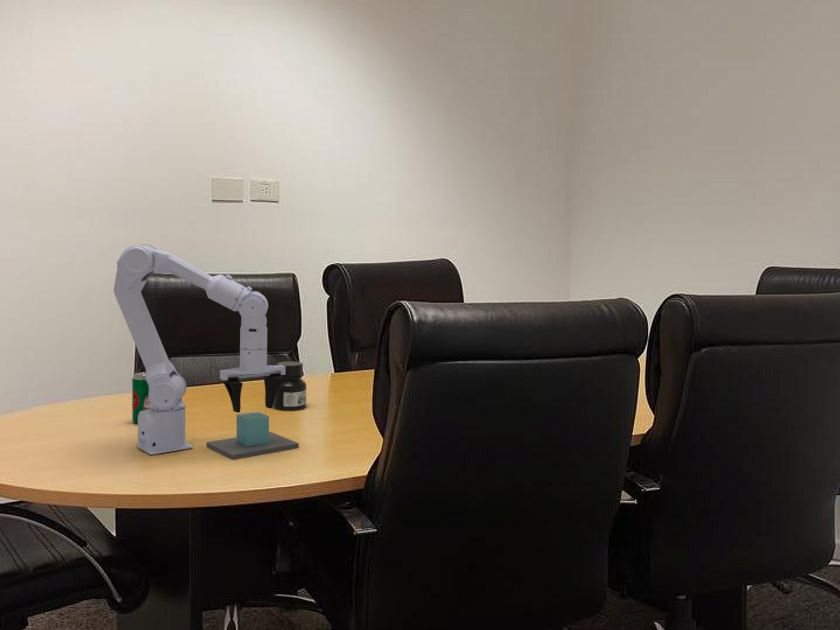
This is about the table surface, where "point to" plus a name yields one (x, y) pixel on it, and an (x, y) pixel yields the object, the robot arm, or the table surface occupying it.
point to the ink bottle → (291, 388)
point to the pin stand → (239, 450)
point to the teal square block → (252, 429)
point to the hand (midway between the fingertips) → (253, 409)
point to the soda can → (139, 395)
